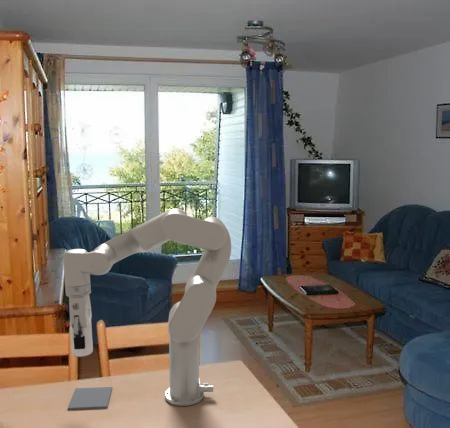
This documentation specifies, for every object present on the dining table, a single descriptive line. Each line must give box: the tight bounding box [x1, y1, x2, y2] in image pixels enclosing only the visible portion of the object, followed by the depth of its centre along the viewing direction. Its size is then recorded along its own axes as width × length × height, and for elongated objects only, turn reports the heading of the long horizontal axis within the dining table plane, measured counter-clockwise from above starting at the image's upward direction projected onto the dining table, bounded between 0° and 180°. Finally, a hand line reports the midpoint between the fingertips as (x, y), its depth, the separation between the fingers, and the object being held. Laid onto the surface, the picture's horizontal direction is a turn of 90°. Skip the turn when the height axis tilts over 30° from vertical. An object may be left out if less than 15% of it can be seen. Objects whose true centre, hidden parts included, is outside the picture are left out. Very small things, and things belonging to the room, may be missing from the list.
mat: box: [67, 386, 113, 411], centre depth 156 cm, size 12×12×1 cm
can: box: [69, 318, 94, 358], centre depth 153 cm, size 6×6×12 cm
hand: (82, 343), depth 153 cm, fingers closed on can, 6 cm apart
